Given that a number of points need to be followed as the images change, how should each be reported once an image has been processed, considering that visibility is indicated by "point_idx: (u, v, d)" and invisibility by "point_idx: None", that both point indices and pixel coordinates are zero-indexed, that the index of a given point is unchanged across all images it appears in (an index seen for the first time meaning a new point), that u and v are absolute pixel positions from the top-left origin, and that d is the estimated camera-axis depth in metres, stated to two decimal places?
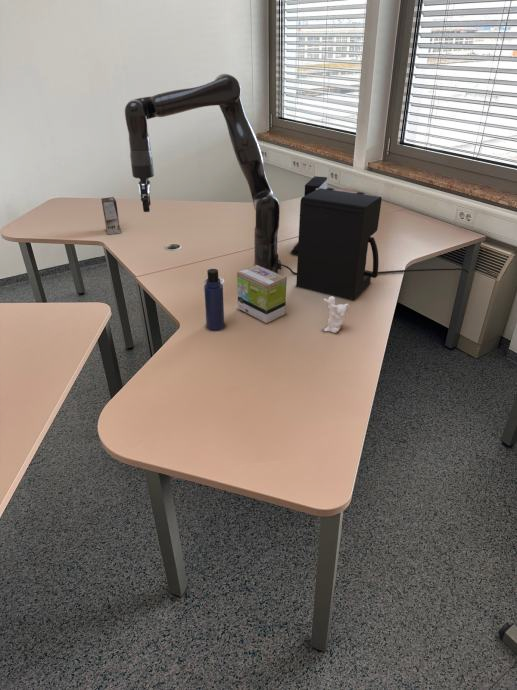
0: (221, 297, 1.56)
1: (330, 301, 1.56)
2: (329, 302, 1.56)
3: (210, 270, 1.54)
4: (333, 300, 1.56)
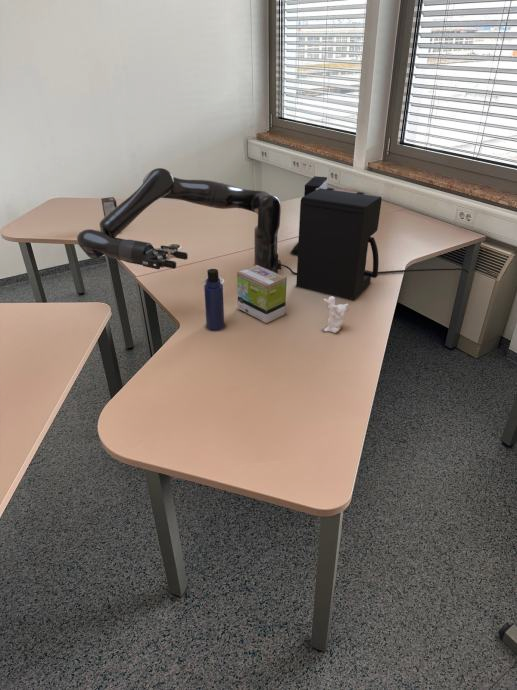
0: (221, 297, 1.56)
1: (330, 301, 1.56)
2: (329, 302, 1.56)
3: (210, 270, 1.54)
4: (333, 300, 1.56)
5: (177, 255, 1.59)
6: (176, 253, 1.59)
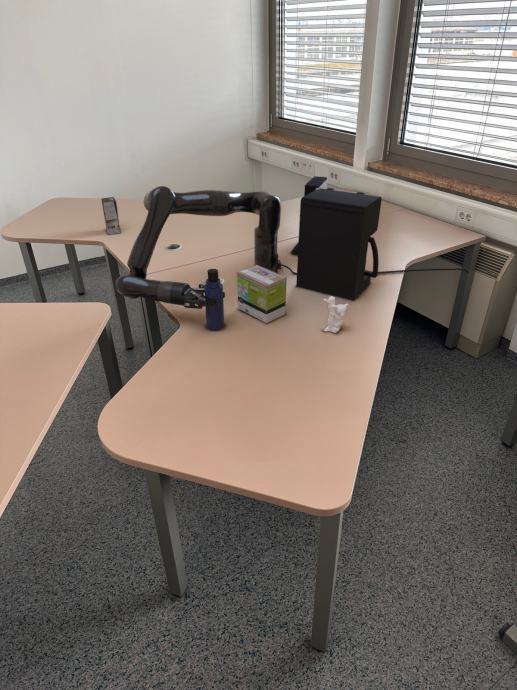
0: (221, 297, 1.56)
1: (330, 301, 1.56)
2: (329, 302, 1.56)
3: (210, 270, 1.54)
4: (333, 300, 1.56)
5: None
6: None
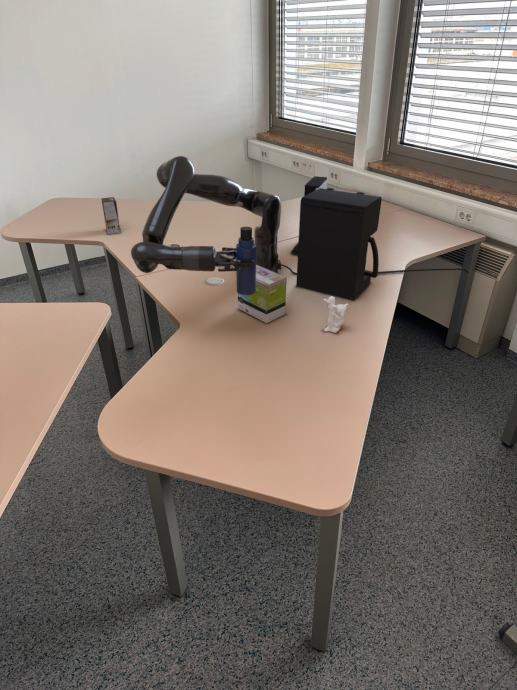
0: (255, 257, 1.45)
1: (330, 301, 1.56)
2: (329, 302, 1.56)
3: (243, 227, 1.42)
4: (333, 300, 1.56)
5: None
6: None
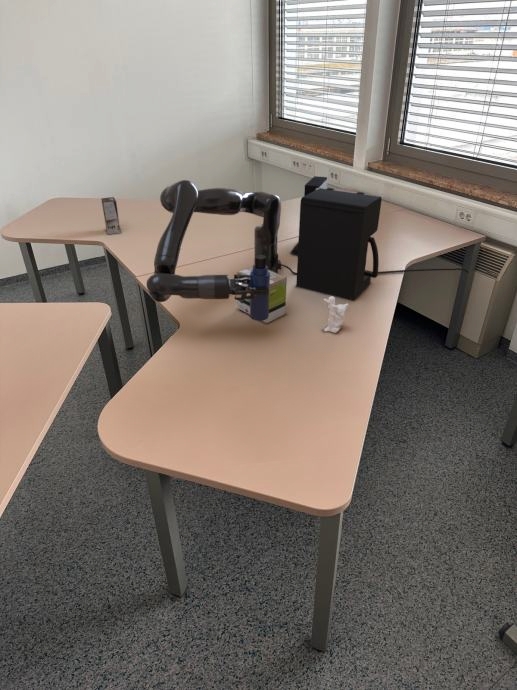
0: (269, 284, 1.49)
1: (330, 301, 1.56)
2: (329, 302, 1.56)
3: (257, 256, 1.45)
4: (333, 300, 1.56)
5: None
6: None
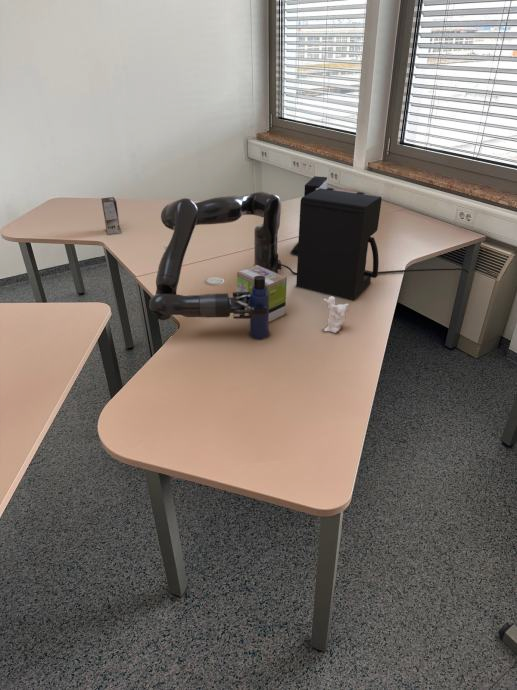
0: (268, 303, 1.53)
1: (330, 301, 1.56)
2: (329, 302, 1.56)
3: (257, 277, 1.49)
4: (333, 300, 1.56)
5: None
6: None
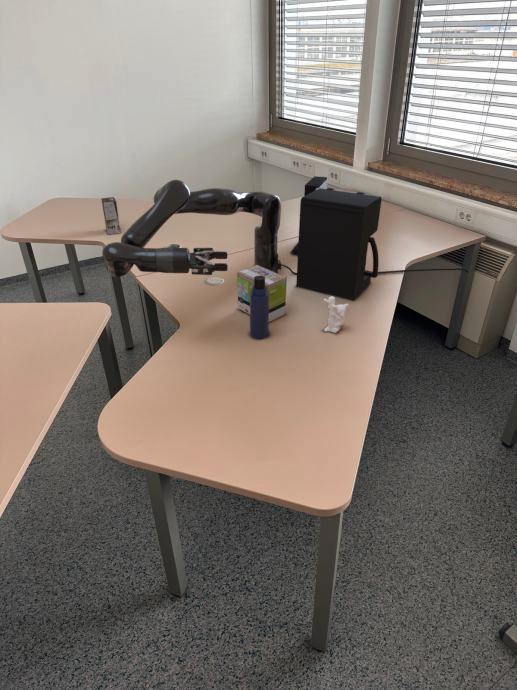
0: (268, 303, 1.53)
1: (330, 301, 1.56)
2: (329, 302, 1.56)
3: (257, 277, 1.49)
4: (333, 300, 1.56)
5: (216, 256, 1.48)
6: (215, 254, 1.48)
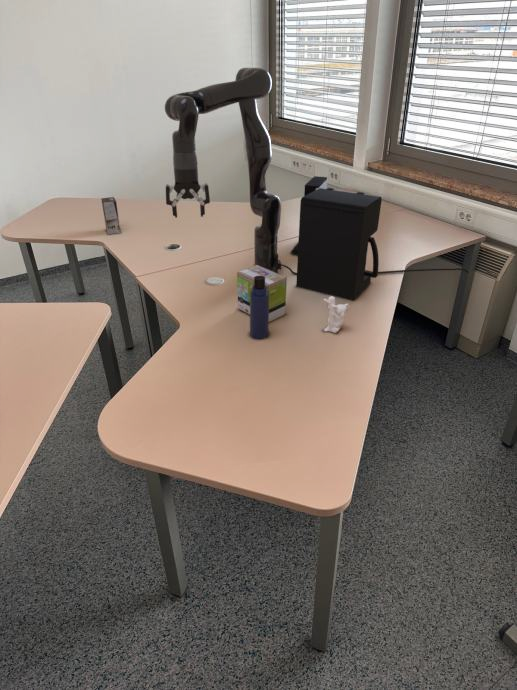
0: (268, 303, 1.53)
1: (330, 301, 1.56)
2: (329, 302, 1.56)
3: (257, 277, 1.49)
4: (333, 300, 1.56)
5: (200, 206, 1.61)
6: (200, 205, 1.60)
